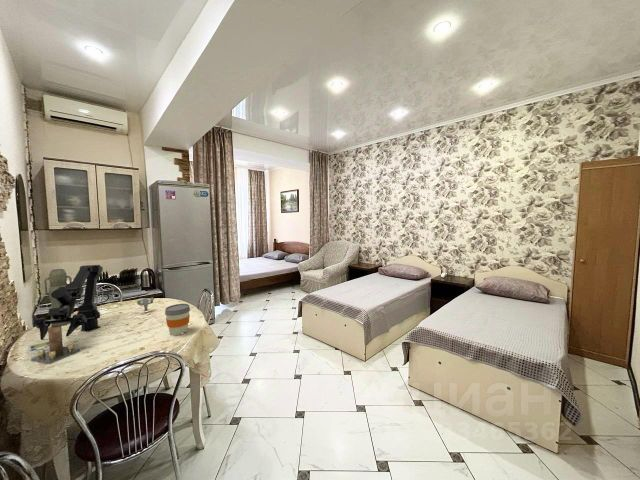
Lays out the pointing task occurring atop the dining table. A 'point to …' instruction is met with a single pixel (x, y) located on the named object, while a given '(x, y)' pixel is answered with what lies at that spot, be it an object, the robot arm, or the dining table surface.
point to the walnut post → (55, 339)
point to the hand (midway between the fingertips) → (54, 338)
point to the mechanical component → (145, 302)
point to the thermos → (56, 287)
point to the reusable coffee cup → (177, 318)
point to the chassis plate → (47, 360)
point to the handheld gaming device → (38, 347)
